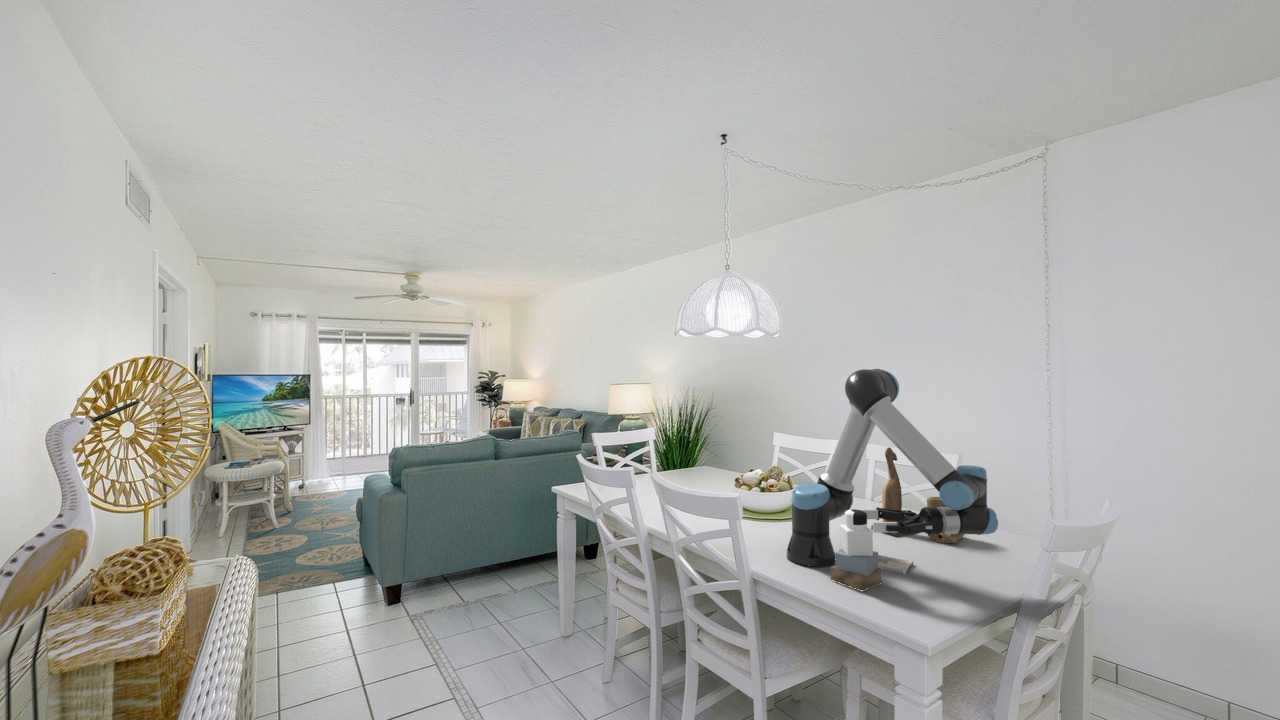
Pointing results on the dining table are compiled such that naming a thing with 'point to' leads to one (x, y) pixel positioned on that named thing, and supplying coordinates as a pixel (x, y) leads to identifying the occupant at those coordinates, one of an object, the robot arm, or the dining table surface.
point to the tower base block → (856, 578)
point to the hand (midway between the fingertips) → (864, 520)
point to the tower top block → (857, 563)
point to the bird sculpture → (891, 488)
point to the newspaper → (892, 564)
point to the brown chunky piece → (940, 537)
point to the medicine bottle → (856, 534)
